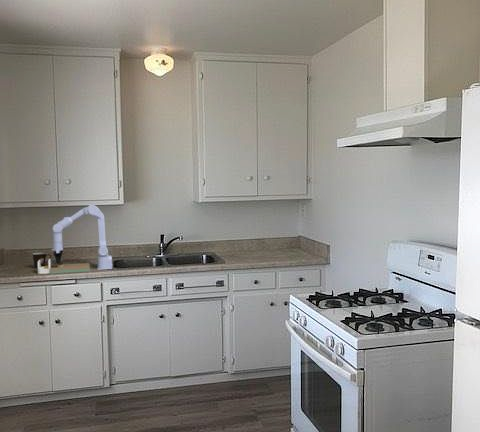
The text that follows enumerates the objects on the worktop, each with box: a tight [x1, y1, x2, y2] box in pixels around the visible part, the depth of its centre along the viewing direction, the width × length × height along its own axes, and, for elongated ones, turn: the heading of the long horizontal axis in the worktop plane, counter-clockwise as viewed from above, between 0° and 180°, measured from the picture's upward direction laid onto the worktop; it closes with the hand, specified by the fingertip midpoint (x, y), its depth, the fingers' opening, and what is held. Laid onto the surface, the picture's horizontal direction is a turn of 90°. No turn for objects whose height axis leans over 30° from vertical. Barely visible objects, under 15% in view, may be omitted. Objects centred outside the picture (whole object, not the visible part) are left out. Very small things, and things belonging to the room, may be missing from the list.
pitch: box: [37, 258, 91, 275], centre depth 334 cm, size 32×12×8 cm, turn 108°
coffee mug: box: [32, 252, 52, 270], centre depth 349 cm, size 12×9×10 cm
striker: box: [57, 256, 64, 267], centre depth 333 cm, size 3×6×8 cm, turn 18°
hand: (58, 262), depth 333 cm, fingers open, 7 cm apart
